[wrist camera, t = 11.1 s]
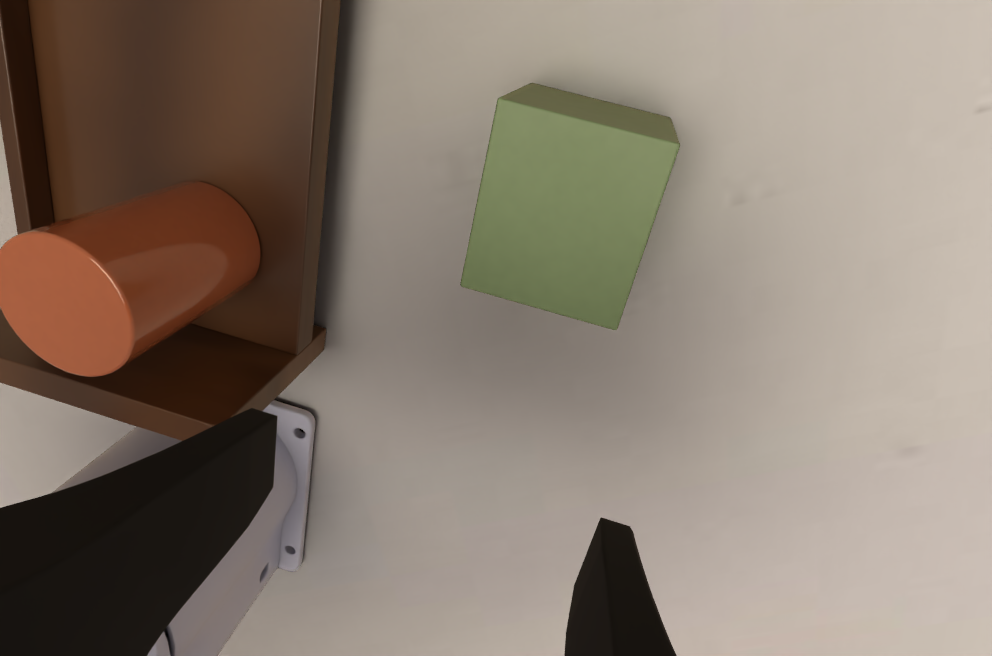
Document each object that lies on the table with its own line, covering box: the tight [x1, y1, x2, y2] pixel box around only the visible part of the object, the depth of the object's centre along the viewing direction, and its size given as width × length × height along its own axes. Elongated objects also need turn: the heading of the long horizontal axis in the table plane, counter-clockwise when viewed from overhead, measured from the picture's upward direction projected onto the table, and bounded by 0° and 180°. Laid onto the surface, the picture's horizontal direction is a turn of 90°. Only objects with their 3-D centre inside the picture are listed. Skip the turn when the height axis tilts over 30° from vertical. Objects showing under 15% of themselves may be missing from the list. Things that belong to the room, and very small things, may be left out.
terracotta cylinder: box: [0, 181, 261, 377], centre depth 18 cm, size 4×4×6 cm
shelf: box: [0, 0, 341, 441], centre depth 18 cm, size 10×18×7 cm, turn 168°
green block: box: [460, 83, 680, 330], centre depth 18 cm, size 5×4×5 cm
